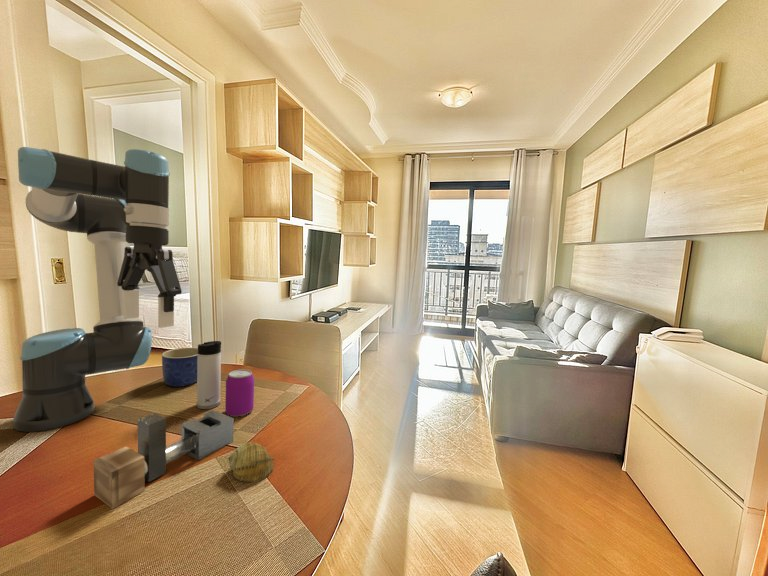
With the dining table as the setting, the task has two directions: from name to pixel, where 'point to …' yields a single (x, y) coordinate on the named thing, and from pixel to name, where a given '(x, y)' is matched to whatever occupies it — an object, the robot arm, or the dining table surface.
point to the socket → (119, 476)
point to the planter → (180, 366)
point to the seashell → (251, 462)
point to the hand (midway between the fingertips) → (148, 322)
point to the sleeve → (209, 433)
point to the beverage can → (239, 393)
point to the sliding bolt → (159, 445)
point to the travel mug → (208, 374)
